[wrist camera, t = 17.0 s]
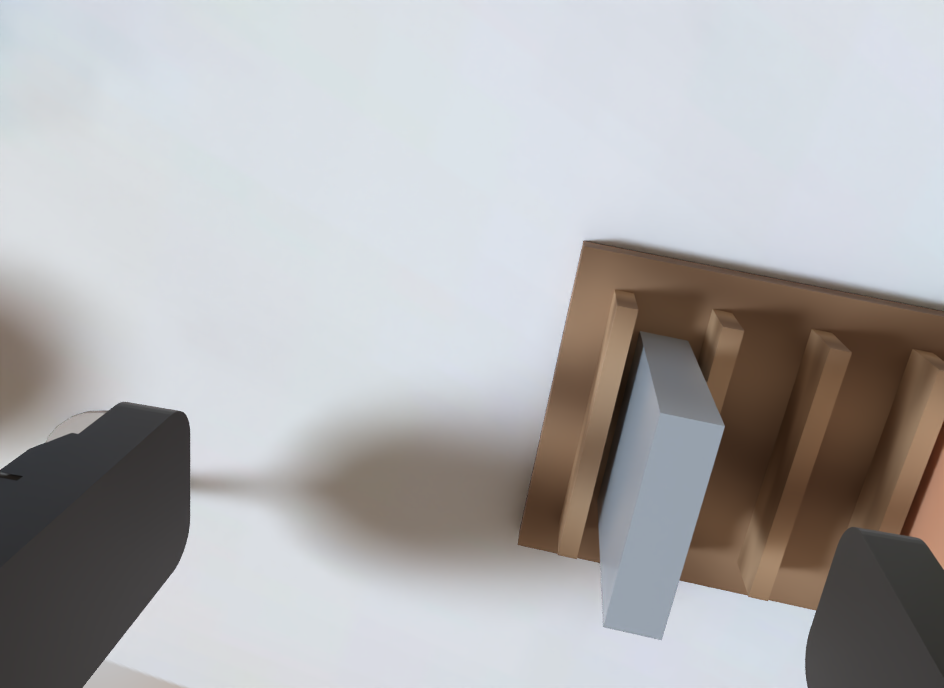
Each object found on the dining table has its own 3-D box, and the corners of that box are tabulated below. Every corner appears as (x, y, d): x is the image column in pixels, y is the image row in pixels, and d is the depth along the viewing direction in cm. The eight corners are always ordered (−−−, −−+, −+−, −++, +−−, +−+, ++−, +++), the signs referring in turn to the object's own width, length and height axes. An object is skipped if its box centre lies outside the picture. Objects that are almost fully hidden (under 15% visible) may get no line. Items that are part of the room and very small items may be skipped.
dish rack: (583, 240, 35) (584, 258, 31) (1074, 337, 33) (1134, 367, 30) (519, 531, 39) (513, 577, 35) (951, 625, 38) (991, 682, 34)
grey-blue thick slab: (640, 330, 34) (660, 412, 26) (688, 340, 34) (724, 426, 26) (597, 501, 37) (603, 626, 28) (642, 510, 37) (661, 640, 28)
